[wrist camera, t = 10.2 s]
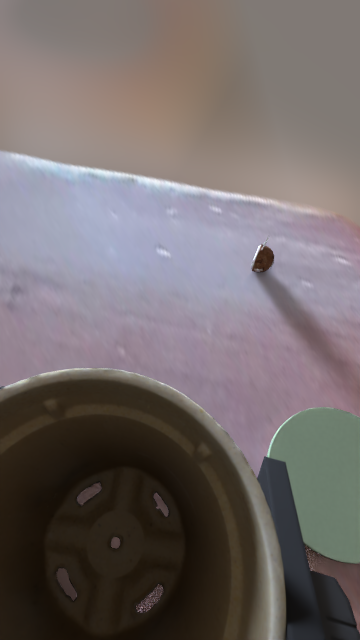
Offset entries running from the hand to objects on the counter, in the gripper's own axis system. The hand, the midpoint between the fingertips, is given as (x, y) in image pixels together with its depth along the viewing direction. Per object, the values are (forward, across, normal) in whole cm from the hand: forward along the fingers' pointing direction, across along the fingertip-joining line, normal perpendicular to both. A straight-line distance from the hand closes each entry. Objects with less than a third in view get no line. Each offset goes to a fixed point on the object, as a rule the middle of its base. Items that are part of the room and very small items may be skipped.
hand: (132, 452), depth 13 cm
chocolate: (+27, +6, +5) cm, 29 cm away
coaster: (+14, +14, -8) cm, 21 cm away
